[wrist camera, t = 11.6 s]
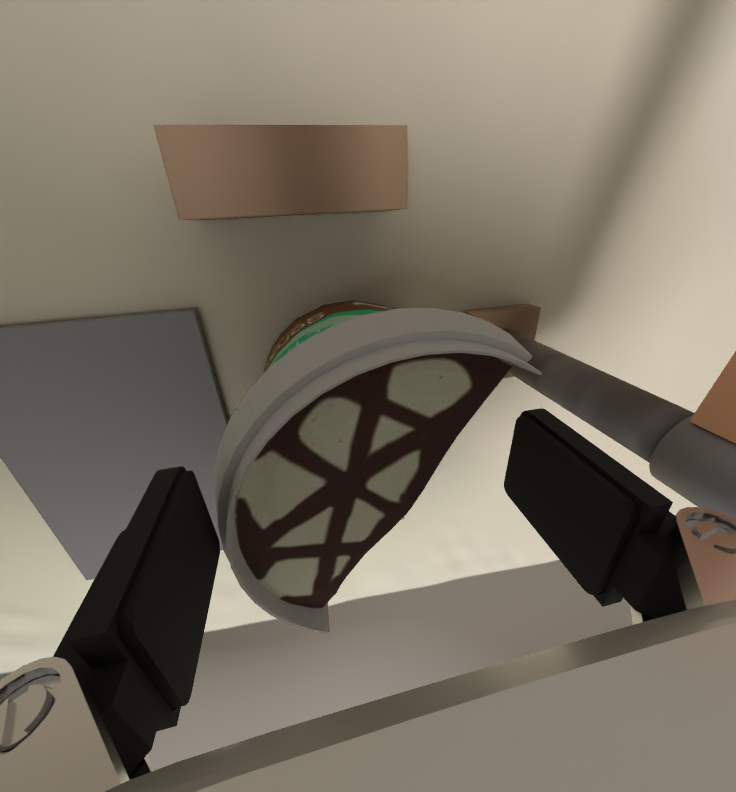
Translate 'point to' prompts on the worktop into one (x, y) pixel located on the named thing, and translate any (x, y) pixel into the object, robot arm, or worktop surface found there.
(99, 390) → the mat
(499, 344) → the food container
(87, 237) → the worktop surface
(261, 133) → the wooden blocks
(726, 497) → the tall wooden post
